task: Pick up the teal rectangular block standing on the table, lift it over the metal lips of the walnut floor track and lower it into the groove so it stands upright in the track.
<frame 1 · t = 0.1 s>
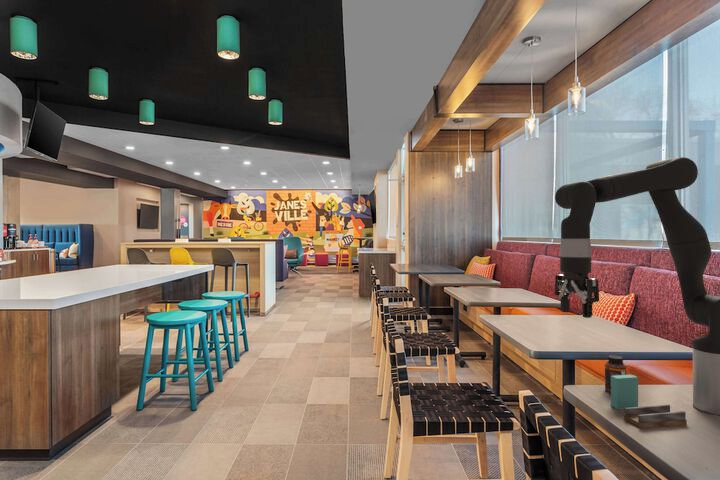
hand: (575, 314, 108), 29 cm above the table, tool pointing down, fingers open, 8 cm apart
floor track: (654, 421, 108), on the table
teal rectangular block: (624, 406, 117), on the table
supplement bottle: (615, 392, 129), on the table
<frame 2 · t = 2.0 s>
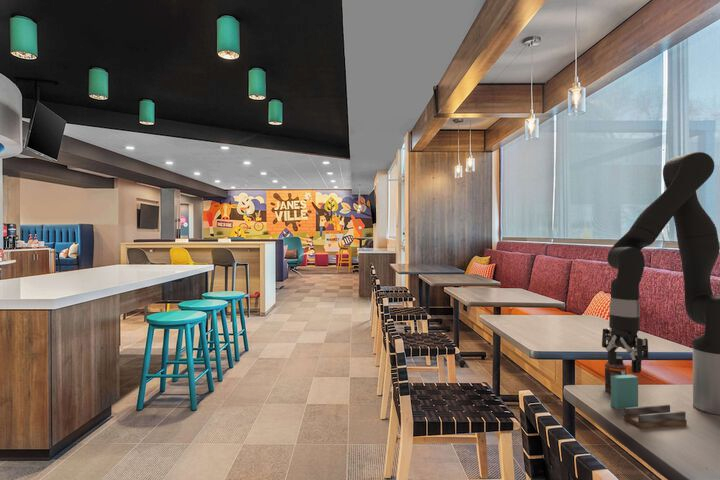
hand: (623, 368, 117), 11 cm above the table, tool pointing down, fingers open, 8 cm apart
nothing on the table moved.
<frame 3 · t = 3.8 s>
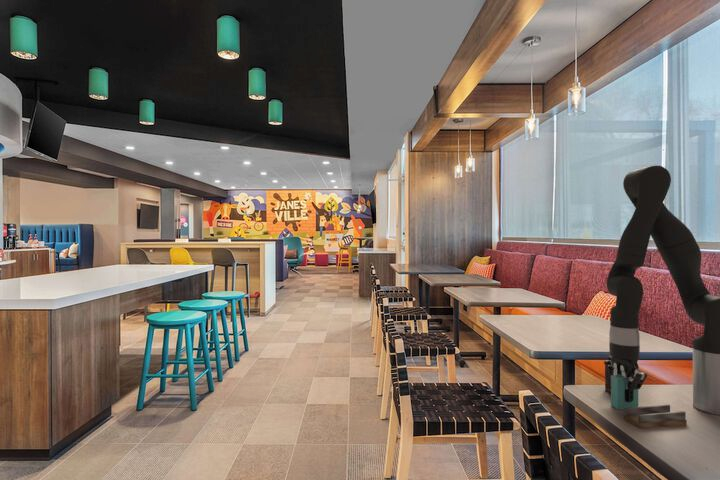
hand: (624, 399, 117), 2 cm above the table, tool pointing down, fingers closed on teal rectangular block, 2 cm apart
teal rectangular block: (624, 406, 117), on the table, touching gripper
everything else where it was.
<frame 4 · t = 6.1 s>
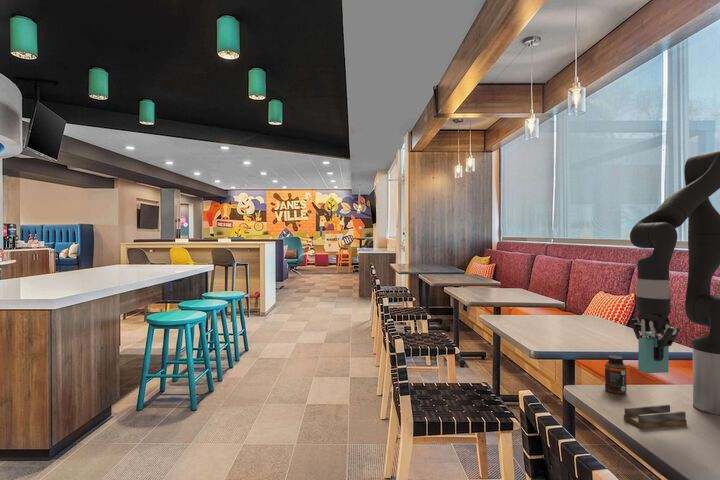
hand: (653, 358, 108), 17 cm above the table, tool pointing down, fingers closed on teal rectangular block
teal rectangular block: (653, 371, 108), point 14 cm above the table, touching gripper
everything else where it was.
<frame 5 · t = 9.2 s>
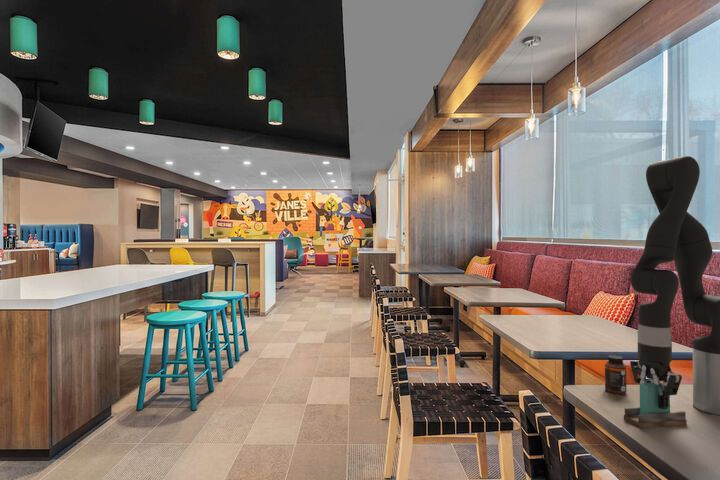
hand: (654, 404, 108), 5 cm above the table, tool pointing down, fingers open, 4 cm apart
teal rectangular block: (654, 417, 108), point 1 cm above the table, touching floor track
everything else where it was.
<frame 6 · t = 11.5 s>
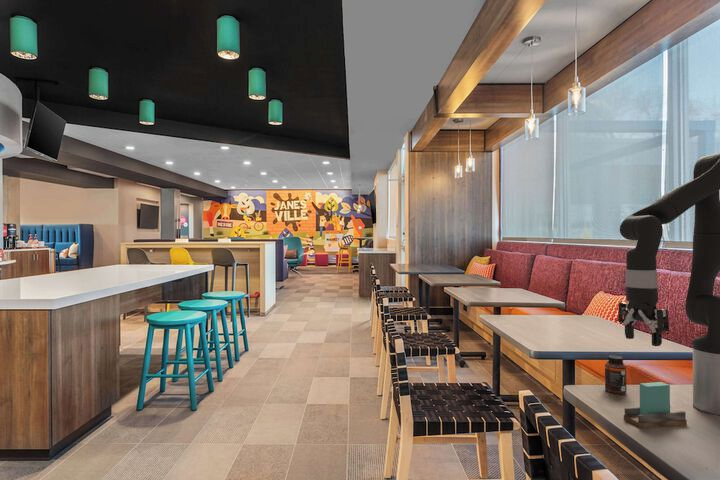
hand: (642, 342, 113), 20 cm above the table, tool pointing down, fingers open, 8 cm apart
nothing on the table moved.
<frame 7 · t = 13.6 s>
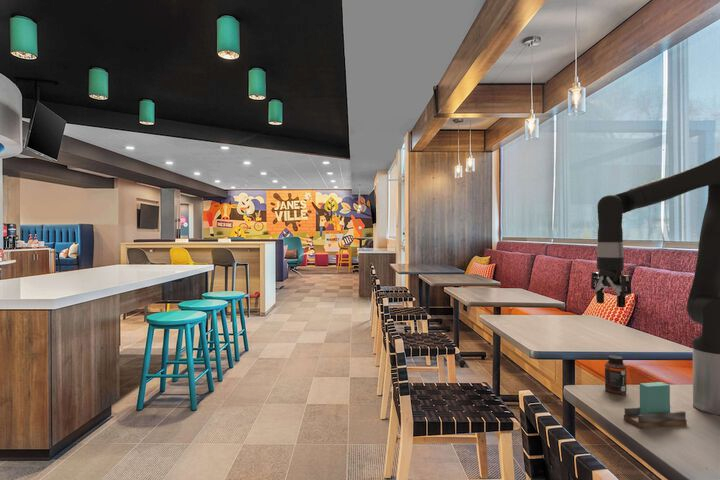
hand: (610, 305, 130), 28 cm above the table, tool pointing down, fingers open, 8 cm apart
nothing on the table moved.
at the end: teal rectangular block inside the target area on the floor track (0.0 cm from its centre), point 1.2 cm above the floor track's base; teal rectangular block tilted 0°; the gripper is holding nothing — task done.
